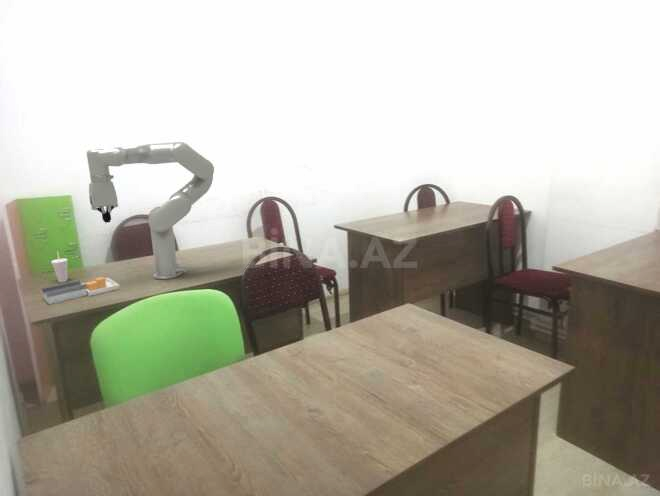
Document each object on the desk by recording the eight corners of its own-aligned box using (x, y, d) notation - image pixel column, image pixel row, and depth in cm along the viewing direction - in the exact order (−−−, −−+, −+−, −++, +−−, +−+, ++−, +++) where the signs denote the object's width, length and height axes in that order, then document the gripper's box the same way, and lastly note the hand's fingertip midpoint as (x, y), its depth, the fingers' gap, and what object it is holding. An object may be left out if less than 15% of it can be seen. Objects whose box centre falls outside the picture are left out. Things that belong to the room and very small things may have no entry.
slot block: (80, 289, 204) (78, 279, 202) (87, 295, 196) (85, 285, 195) (43, 298, 195) (41, 287, 193) (49, 304, 187) (47, 293, 186)
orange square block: (96, 287, 205) (103, 285, 206) (99, 289, 202) (106, 287, 204) (94, 278, 204) (102, 276, 205) (97, 280, 201) (105, 278, 203)
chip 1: (96, 287, 205) (94, 280, 204) (98, 289, 202) (97, 282, 201) (86, 289, 202) (84, 282, 201) (88, 291, 199) (87, 284, 199)
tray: (108, 281, 213) (108, 277, 212) (119, 289, 203) (119, 284, 202) (79, 288, 205) (78, 284, 205) (89, 296, 195) (88, 291, 194)
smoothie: (54, 284, 212) (49, 253, 209) (55, 280, 218) (49, 250, 214) (71, 281, 215) (65, 251, 212) (71, 277, 221) (65, 248, 217)
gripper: (115, 176, 209) (122, 218, 214) (78, 180, 199) (86, 223, 204) (121, 178, 203) (128, 220, 208) (84, 181, 194) (91, 226, 199)
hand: (107, 221), depth 206 cm, fingers closed
